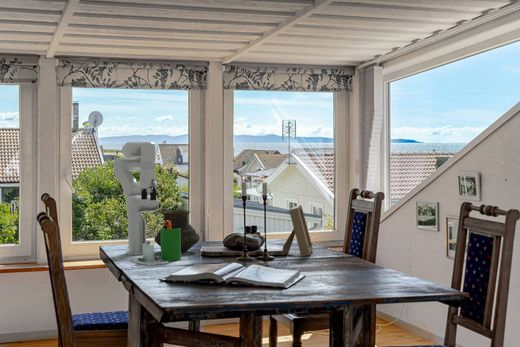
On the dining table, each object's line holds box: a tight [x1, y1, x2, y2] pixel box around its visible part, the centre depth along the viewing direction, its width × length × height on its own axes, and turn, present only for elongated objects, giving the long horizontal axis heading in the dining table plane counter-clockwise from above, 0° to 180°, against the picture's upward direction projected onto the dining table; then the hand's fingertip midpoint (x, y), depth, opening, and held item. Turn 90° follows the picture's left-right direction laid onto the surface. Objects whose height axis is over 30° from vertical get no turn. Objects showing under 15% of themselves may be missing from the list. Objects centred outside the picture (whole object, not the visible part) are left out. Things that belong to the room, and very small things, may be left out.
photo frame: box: [281, 204, 313, 258], centre depth 360 cm, size 15×22×25 cm
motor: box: [159, 220, 182, 262], centre depth 346 cm, size 10×9×20 cm
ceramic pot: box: [154, 209, 201, 254], centre depth 372 cm, size 24×24×22 cm
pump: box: [142, 240, 155, 261], centre depth 338 cm, size 6×6×10 cm
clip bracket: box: [128, 255, 169, 267], centre depth 338 cm, size 20×11×2 cm, turn 37°
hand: (148, 199), depth 348 cm, fingers open, 9 cm apart
